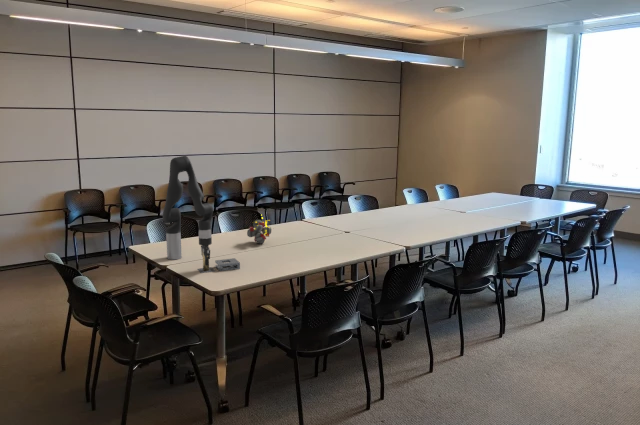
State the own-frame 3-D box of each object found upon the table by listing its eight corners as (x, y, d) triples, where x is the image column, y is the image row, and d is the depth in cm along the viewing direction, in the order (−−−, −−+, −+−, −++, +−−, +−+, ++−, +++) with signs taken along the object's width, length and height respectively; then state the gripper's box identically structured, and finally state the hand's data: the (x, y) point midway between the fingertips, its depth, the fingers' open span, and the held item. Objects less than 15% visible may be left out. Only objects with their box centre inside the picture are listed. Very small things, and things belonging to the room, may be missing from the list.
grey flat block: (215, 267, 313) (215, 260, 312) (234, 264, 318) (234, 258, 317) (219, 271, 303) (219, 264, 302) (240, 269, 308) (239, 262, 308)
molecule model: (276, 246, 365) (276, 216, 361) (247, 248, 360) (247, 217, 356) (271, 239, 389) (271, 210, 385) (244, 240, 384) (243, 211, 380)
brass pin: (202, 269, 306) (201, 252, 304) (208, 269, 307) (207, 251, 305) (203, 271, 302) (203, 253, 301) (209, 270, 304) (209, 252, 302)
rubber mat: (196, 269, 307) (196, 268, 307) (211, 267, 311) (211, 267, 311) (200, 273, 299) (200, 273, 298) (215, 272, 302) (215, 271, 302)
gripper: (196, 234, 306) (197, 262, 309) (201, 239, 293) (202, 267, 296) (208, 233, 309) (209, 260, 312) (214, 238, 297) (215, 266, 299)
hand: (206, 264), depth 304 cm, fingers open, 4 cm apart
